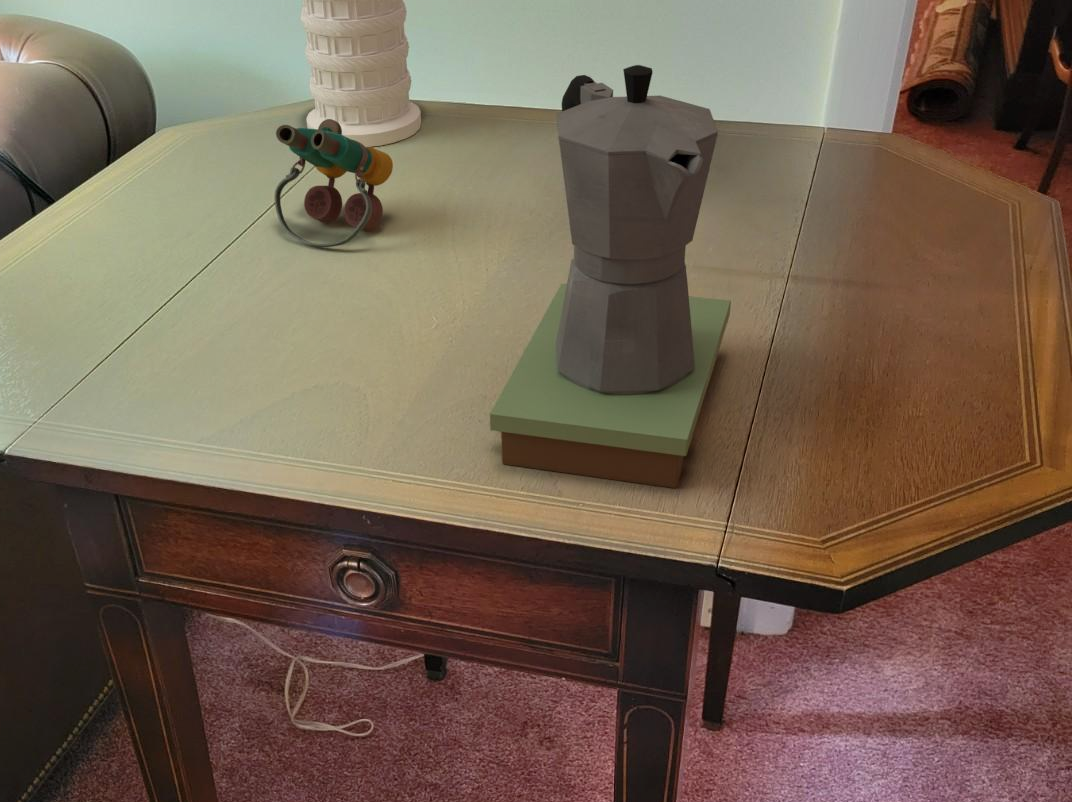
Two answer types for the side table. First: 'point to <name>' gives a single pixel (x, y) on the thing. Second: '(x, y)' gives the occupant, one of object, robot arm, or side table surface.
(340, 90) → the decorative container
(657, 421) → the box with lid
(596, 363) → the coffeepot
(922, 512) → the side table surface
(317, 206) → the binoculars
